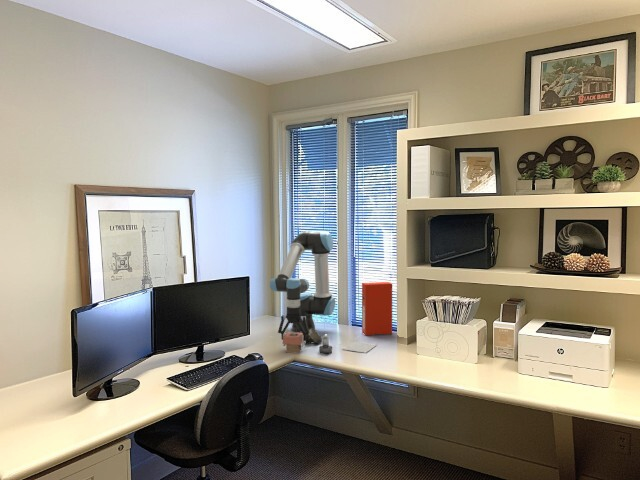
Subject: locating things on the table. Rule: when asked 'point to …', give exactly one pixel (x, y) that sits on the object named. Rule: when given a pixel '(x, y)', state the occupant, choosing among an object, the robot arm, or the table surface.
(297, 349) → the stand
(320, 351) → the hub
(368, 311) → the file binder
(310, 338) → the fossil
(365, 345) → the paper stack
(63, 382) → the table surface
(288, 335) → the salmon square frame
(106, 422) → the table surface
